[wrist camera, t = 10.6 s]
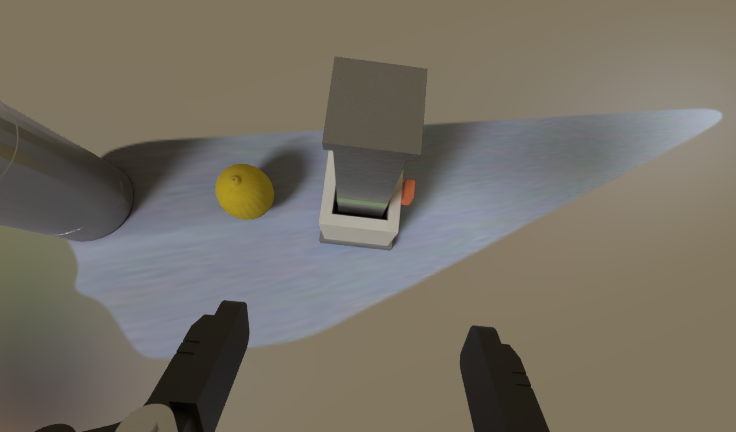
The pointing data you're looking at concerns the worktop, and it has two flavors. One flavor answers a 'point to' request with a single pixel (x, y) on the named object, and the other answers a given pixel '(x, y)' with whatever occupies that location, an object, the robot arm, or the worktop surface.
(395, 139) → the column
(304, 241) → the worktop surface
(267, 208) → the lemon
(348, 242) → the stand
